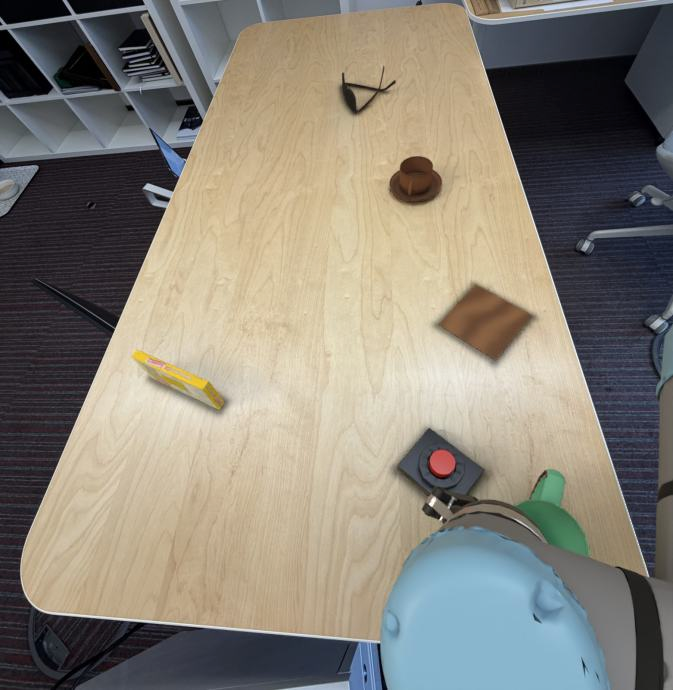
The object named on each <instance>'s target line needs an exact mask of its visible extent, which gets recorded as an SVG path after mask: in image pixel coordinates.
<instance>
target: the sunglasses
mask: <svg viewBox="0 0 673 690" xmlns="http://www.w3.org/2000/svg"><path fill="white" fill-rule="evenodd" d="M384 73H385V65H383V66H382V71H381V77H380V81H379V85H378V87H373V86H372V87H371V86H367V85H363V84H356V83H352V82H346V78H345V72H341V85H342V94H343V98H344V100H345V102H346V104H347V106H348V107H349V109H350V110H351V112H353V113H354V114H359V113H361V112H362V111H363V110H364V109H365V108H366V107H367V106H368V105H369V104H370V103H371V102H372V101H373V100H374V98H375V97H376V96H377V95H378V93H379V92H386V91H387V90H388V89H390V88H391V87H393V86H394V85H395V84H397V82H396V81H397V80H396V79H394V80H393V81H391V82H390V83H389V84H388V85H386V87H384V88H381V87H382V83H383V78H384ZM349 86H350V87H355V88H360V89H361V88H362V89H367V90H371V91H376V92H375V93H374V94H373V95H372V97H371V98H370V99H368V101H367V102H365V103H364V104H363V105H362V106H361V107H360V108H359V109H357V98H356V95H355V93H354V91H353V90H352V89H351V88H348V87H349Z"/></svg>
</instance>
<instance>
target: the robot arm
mask: <svg viewBox="0 0 673 690" xmlns="http://www.w3.org/2000/svg"><path fill="white" fill-rule="evenodd" d="M661 361H662V362H661V371H660V372H661V373H660V380H659V381H658V382H657V385H656V388H655V396H656V398H657V401H658V405H659V407H658V408H659V421H658V422H659V424H658V425H659V426H658V427H659V428H658V429H659V430H658V469H657V470H658V472H657V473H658V474H657V477H658V479H657V504H656V516H655V551H654V577H651V576H647V575H643V574H640V573H639V572H637V571H634V570H632V569H631V570H630V569H627V568H625V567H622V566H619V565H616V566H614V565H610V564H608V563H605V562H603V561H600V560H597V559H594V558H591V557H590V558H588V557H585V556H583V555H580V554H577V553H574V552H571V551H568V550H565V549H562V548H559V547H557V546H554V545H551V544H548V542H547V540H546V538H545V536H544V534H543V533H542V531H541V529H540V528H539V527H538V525H537V524H536V523H535V522H534V521H533V520H532V519H531V518H530V517H529V516H528V515H527V514H526V513H524V512H523V511H521V510H520V509H518V508H517V507H515V506H514V504H510V503H508V502H505V501H502V500H498V499H478V498H477V497H475V496H471V495H468V494H466V495H464V494H459V493H455V492H450V491H447V490H445V489H443V488H442V487H438V486H436V485H435V487H434V489H433V490H432V492H431V494H430V495H429V496H428V497H427V499H426V501H425V502H424V504H423V506H422V508H421V511H422V512H423V513H424V515H425V516H426V517H431V518H432V519H436V520H437V521H439V523H441V524H442V525H441V527H439V529H437V531H435V532H433V533H432V534H430V535H429V536H428V537H424V539H423V540H422V541H421V542H420V543H419V544H418V545H416V546H415V547H414V548H413V549H412V550H411V552H410V554H408V556H407V558H406V560H405V561H404V563H403V565H402V568H401V570H400V572H399V574H398V576H397V577H396V580H395V581H394V584H393V585H392V587H391V590H390V592H389V594H388V596H387V599H386V601H385V605H384V607H383V609H382V613H381V624H380V640H379V642H380V643H379V644H380V648H379V649H380V659H381V666H382V672H383V676H384V677H383V678H384V681H385V685H386V688H387V690H673V324H672V325H671V327H670V328H669V330H668V331H667V332H666V333H665V335H664V342H663V351H662V360H661Z"/></svg>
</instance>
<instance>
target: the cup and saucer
mask: <svg viewBox="0 0 673 690" xmlns="http://www.w3.org/2000/svg"><path fill="white" fill-rule="evenodd" d="M442 184H443V180H442V177H441V175H440V174H439V173H438V171H436V170H434V164H433V161H431V160H430V159H429V158H428V157H426V156H421V155H414V156H409V157H406V158H405V159H403V160H402V161H401V163H400V165H399V170H397V171H396V172H395V173H393V174H392V176H391V177H390V179H389V188H390V191H391V193H393V195H394V196H395V197H397V198H398V199H401V200H403V201H406V202H413V203H414V202H415V203H416V202H422V201H426V200H429V199H431V198H432V197H434V196H436V195H437V194H438V193H439V192H440V190H441V187H442Z"/></svg>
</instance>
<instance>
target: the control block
mask: <svg viewBox="0 0 673 690" xmlns="http://www.w3.org/2000/svg"><path fill="white" fill-rule="evenodd" d="M437 450H446V451H448V452H450V453H451V454H452V455H453V457H454V459H455V463H456V465H455V468H454V470H453V472H452V474H451V475H449V476H448V477H438V476H436V475H434V474H433V473H432V472H431V470H430V467H429V461H430V457H431V455H432V454H433V453H434V452H435V451H437ZM397 471H399V473H401V474H402V475H403V476H404V477H406V478H407V479H408V480H409V481H410V482H412V483H413V484H414V485H415V486H416V487H417V488H418V489H419V490H421V491H422V492H423V493H425V494H426V495H427V496H428V497H429V495H430V494H431V492H432V490H433V489H434V487H435V485H436V486H438V487H442V488H443V489H445V490H447V491H450V492H455V493H459V494H464V495H468V493H469V492H470V490H471V489H472V488H473V486H474V485H475V484H476V482H477V481H478V480H479V478H480V477H481V475H482V474H483V473H484V471H485V469H484V468H483V467H482V466H481V465H479V464H477V463H476V462H475V461H474V460H472V459H471V458H470V457H468V456H467V455H466V454H464V453H463V452H462V451H460V450H459V449H458V448H456V447H455V446H454V445H453V444H451V443H450V442H449V441H448V440H446V439H445V438H443V436H441V435H440V434H439V433H438V432H436V431H435V430H433V429H432V428H430V427H428V428H427V430H426V431H425V432H424V433H423V434H422V435H421V437H420V438H419V439H418V440H417V442H416V443H415V444H414V445H413V447H412V448H411V449H410V450H409V451H408V452H407V454H406V455H405V456H404V457H403V458H402V460H401V461H399V463H398V464H397Z"/></svg>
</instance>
